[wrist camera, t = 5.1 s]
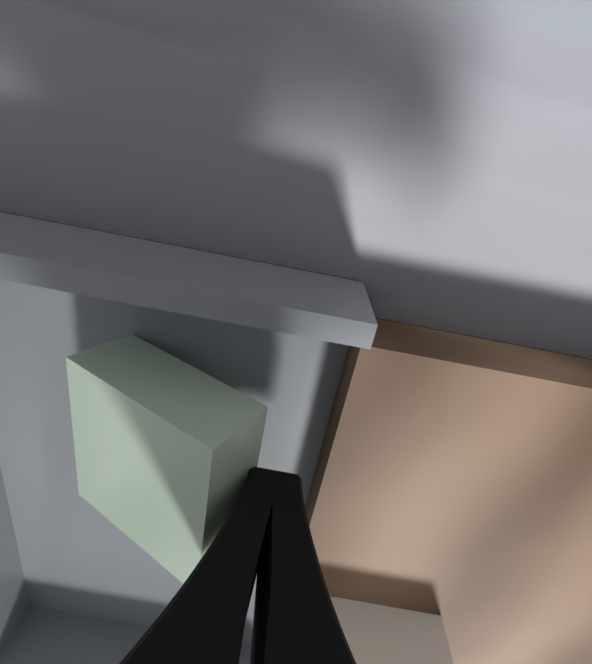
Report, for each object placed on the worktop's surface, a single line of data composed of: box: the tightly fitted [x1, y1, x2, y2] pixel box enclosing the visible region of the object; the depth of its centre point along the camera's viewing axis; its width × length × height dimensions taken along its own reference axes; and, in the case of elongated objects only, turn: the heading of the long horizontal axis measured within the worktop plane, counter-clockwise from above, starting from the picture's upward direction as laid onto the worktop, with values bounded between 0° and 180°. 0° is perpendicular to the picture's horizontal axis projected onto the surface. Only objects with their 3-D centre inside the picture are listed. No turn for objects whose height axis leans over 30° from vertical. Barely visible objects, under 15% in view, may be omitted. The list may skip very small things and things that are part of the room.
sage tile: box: [66, 334, 268, 584], centre depth 11 cm, size 5×5×2 cm
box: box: [0, 212, 378, 664], centre depth 13 cm, size 12×19×3 cm, turn 170°
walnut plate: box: [305, 318, 592, 664], centre depth 14 cm, size 13×17×2 cm
